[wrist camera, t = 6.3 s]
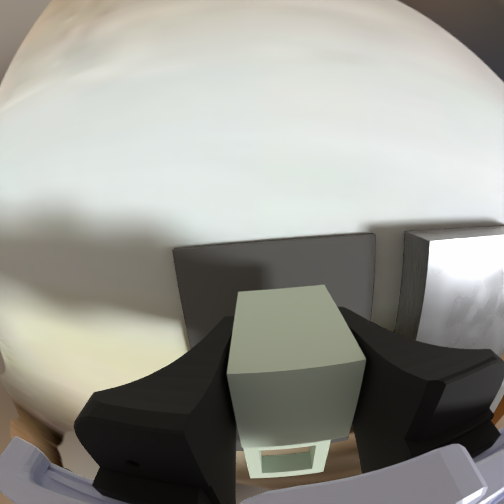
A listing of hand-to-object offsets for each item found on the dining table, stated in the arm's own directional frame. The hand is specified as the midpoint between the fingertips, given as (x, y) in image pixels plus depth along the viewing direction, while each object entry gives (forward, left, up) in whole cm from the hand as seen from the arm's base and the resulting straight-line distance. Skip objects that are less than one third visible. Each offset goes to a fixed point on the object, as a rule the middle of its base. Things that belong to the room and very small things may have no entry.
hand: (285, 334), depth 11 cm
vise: (-5, -12, -3) cm, 13 cm away
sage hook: (-5, 0, -1) cm, 5 cm away
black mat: (-5, 0, -3) cm, 6 cm away
